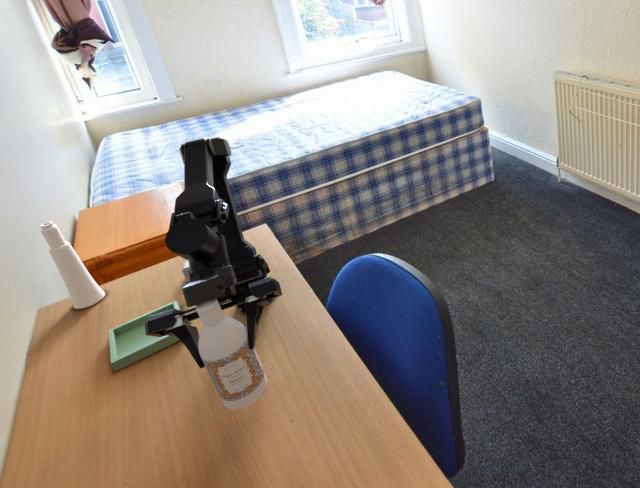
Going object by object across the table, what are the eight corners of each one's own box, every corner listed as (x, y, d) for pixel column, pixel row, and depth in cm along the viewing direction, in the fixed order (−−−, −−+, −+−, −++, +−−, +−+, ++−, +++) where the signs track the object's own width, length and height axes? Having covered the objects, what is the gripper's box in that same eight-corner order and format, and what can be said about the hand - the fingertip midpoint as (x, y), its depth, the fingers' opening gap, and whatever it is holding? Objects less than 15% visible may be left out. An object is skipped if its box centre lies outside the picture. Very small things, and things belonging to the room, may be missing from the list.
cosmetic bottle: (73, 313, 110) (26, 234, 101) (74, 300, 114) (30, 224, 106) (105, 300, 113) (62, 223, 105) (105, 288, 118) (64, 213, 109)
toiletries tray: (179, 307, 109) (176, 300, 108) (188, 336, 100) (184, 328, 99) (112, 337, 101) (108, 330, 100) (115, 371, 92) (110, 363, 91)
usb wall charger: (187, 282, 117) (181, 269, 116) (191, 267, 123) (185, 254, 122) (205, 276, 119) (199, 263, 117) (208, 262, 125) (203, 249, 123)
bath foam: (225, 419, 76) (179, 327, 68) (222, 389, 81) (179, 300, 73) (271, 396, 79) (232, 305, 71) (265, 369, 85) (229, 281, 77)
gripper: (122, 277, 69) (136, 385, 65) (259, 237, 77) (281, 331, 72) (153, 288, 79) (167, 383, 74) (272, 251, 86) (292, 336, 82)
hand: (227, 358), depth 75 cm, fingers closed on bath foam, 7 cm apart
